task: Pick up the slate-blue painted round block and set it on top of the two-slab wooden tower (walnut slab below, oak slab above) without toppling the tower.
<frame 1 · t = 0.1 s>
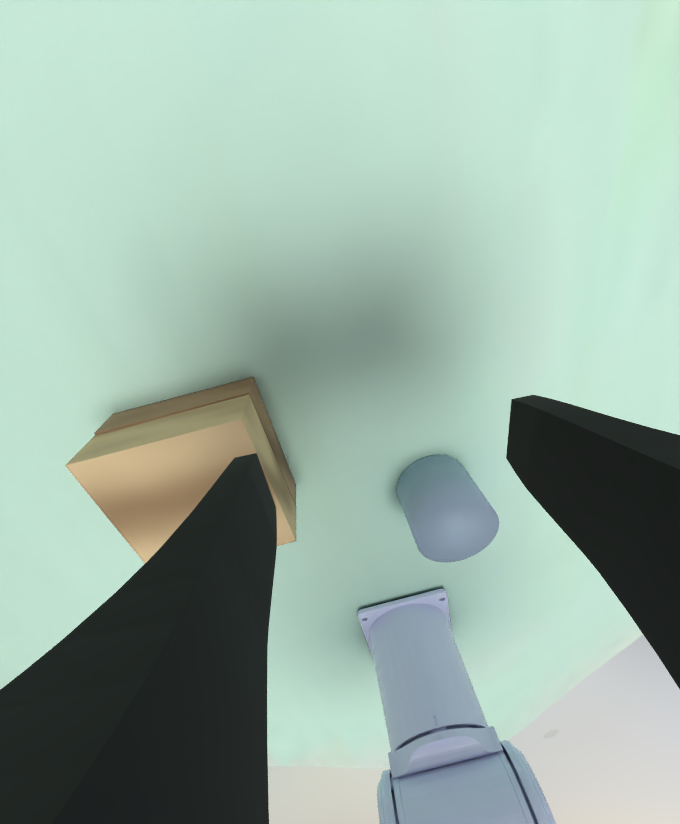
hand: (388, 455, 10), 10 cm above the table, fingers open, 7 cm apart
walnut slab: (214, 447, 21), on the table, touching oak slab
round block: (430, 483, 24), on the table
oak slab: (205, 475, 19), point 2 cm above the table, touching walnut slab
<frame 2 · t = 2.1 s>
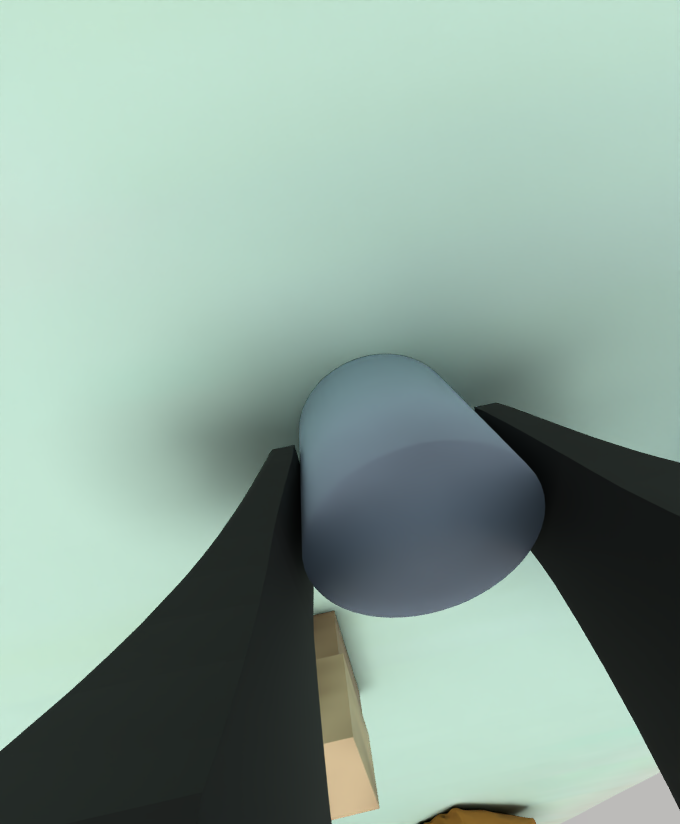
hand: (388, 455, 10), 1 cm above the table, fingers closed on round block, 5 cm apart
walnut slab: (270, 662, 17), on the table
coffee package: (468, 815, 35), on the table
round block: (377, 429, 11), on the table, touching gripper
oak slab: (269, 719, 15), point 2 cm above the table
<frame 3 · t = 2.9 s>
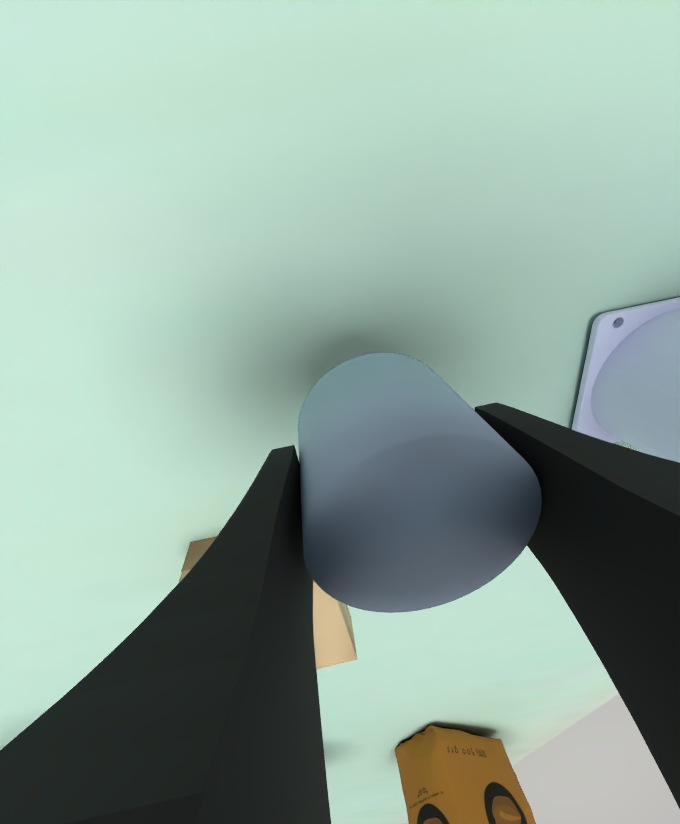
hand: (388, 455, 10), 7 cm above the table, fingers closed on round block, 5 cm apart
walnut slab: (274, 562, 23), on the table, touching oak slab
coffee package: (444, 737, 40), on the table
round block: (375, 427, 11), point 6 cm above the table, touching gripper
oak slab: (275, 596, 20), point 2 cm above the table, touching walnut slab
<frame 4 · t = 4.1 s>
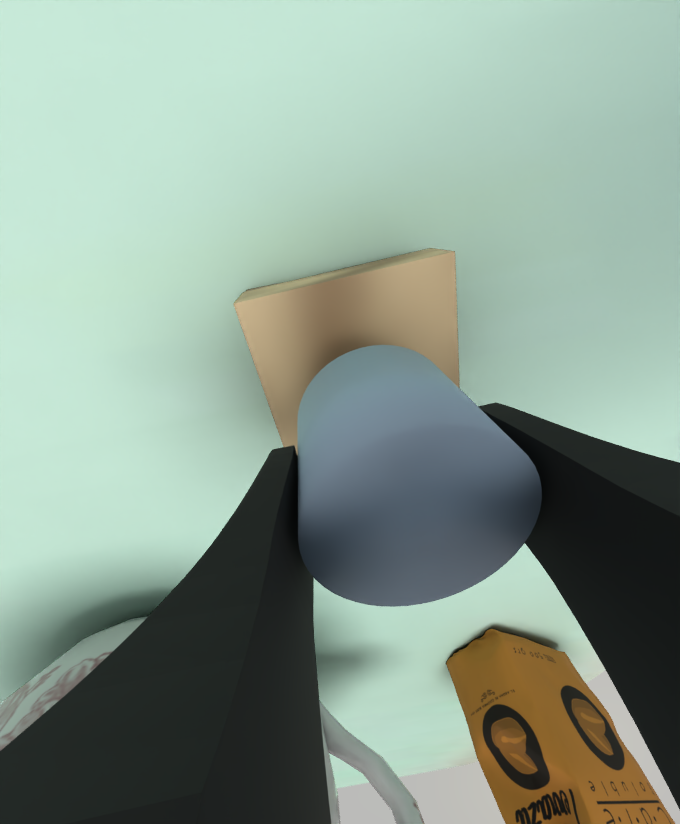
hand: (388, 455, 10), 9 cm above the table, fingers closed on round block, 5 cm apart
chamber pot: (190, 659, 30), on the table
coffee package: (501, 651, 36), on the table
round block: (376, 420, 11), point 8 cm above the table, touching gripper
oak slab: (354, 359, 16), point 2 cm above the table, touching walnut slab
when the fingers open (7 cm above the table, at t = 5.0 s): round block stays where it is, point 5 cm above the table.
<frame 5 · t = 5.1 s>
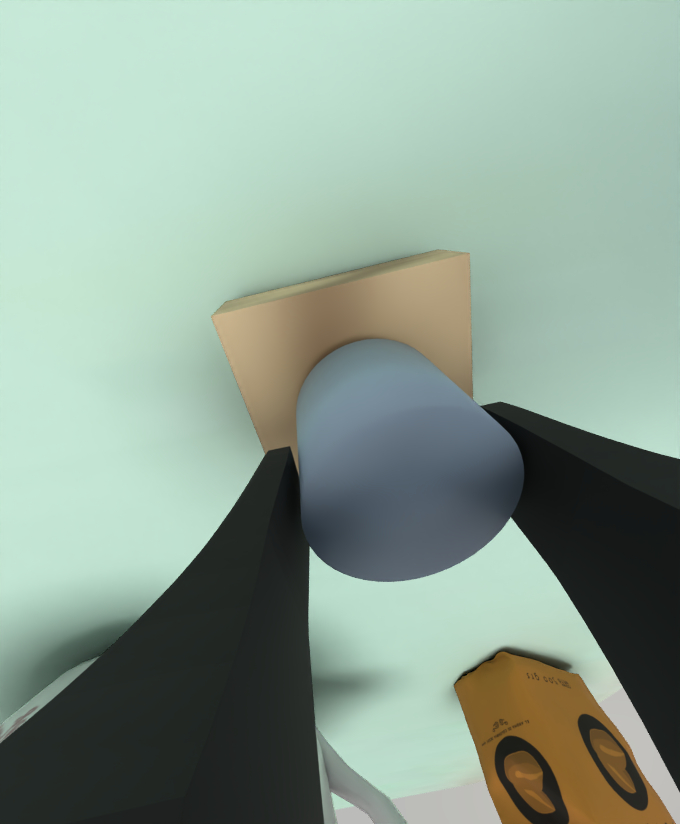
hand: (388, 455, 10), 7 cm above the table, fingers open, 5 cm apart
chamber pot: (183, 686, 28), on the table
coffee package: (511, 672, 34), on the table
round block: (370, 411, 11), point 5 cm above the table
oak slab: (352, 374, 14), point 2 cm above the table, touching walnut slab
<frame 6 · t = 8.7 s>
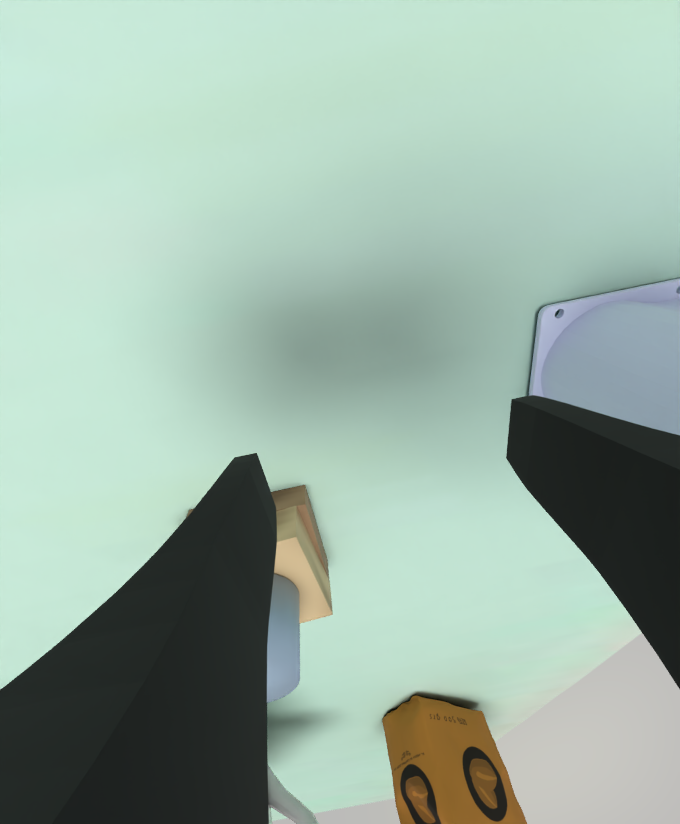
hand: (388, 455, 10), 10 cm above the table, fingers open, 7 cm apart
walnut slab: (264, 530, 25), on the table, touching oak slab
chamber pot: (166, 724, 37), on the table
coffee package: (429, 709, 43), on the table
round block: (259, 598, 21), point 4 cm above the table
oak slab: (258, 561, 23), point 2 cm above the table, touching walnut slab
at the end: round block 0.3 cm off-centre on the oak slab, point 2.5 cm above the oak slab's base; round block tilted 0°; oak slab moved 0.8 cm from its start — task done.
